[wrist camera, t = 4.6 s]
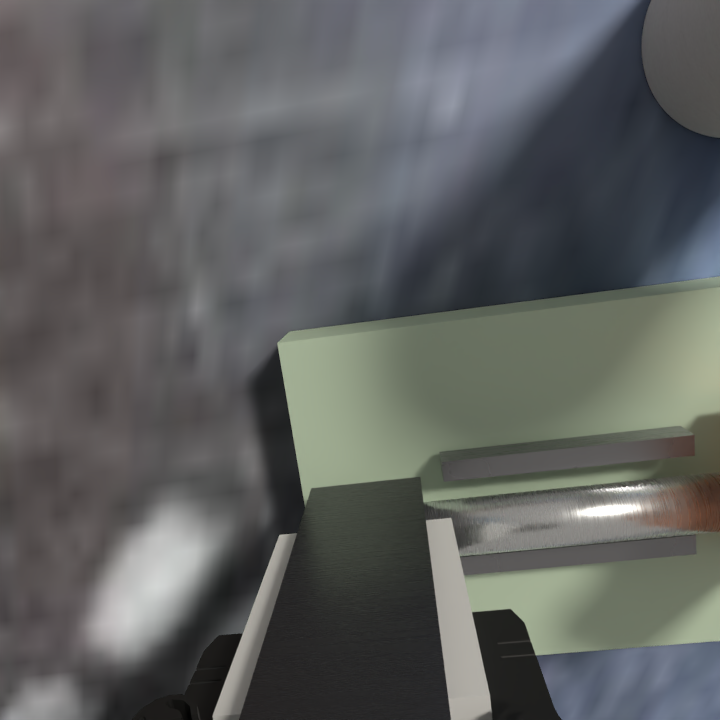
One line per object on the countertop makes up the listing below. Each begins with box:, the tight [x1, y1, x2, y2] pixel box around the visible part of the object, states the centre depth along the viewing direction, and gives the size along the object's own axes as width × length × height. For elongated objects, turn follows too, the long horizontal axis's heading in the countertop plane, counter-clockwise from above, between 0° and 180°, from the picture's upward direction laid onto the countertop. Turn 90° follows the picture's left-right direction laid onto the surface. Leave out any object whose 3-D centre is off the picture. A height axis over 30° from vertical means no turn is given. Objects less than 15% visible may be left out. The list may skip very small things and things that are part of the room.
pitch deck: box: [277, 277, 720, 655], centre depth 21 cm, size 23×13×2 cm, turn 98°
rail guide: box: [439, 426, 696, 575], centre depth 19 cm, size 8×4×1 cm, turn 98°
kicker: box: [239, 472, 720, 720], centre depth 14 cm, size 16×6×11 cm, turn 98°
